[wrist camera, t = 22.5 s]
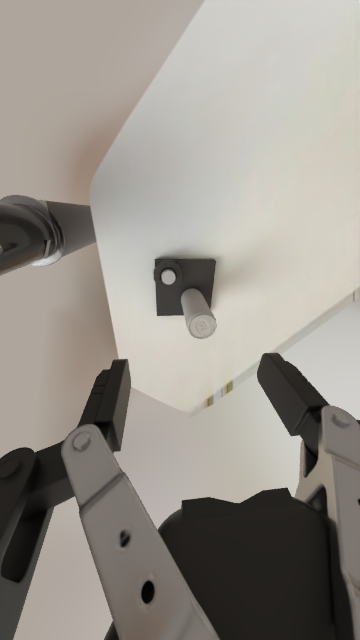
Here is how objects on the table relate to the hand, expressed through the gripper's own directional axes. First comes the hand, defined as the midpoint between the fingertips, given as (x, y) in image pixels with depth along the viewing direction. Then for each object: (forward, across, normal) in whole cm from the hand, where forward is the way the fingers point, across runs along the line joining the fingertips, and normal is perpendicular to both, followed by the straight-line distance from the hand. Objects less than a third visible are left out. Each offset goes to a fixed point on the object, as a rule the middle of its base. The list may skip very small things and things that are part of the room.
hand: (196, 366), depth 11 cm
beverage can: (+29, -4, +8) cm, 30 cm away
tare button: (+28, 0, +3) cm, 28 cm away
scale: (+30, -3, +6) cm, 31 cm away
